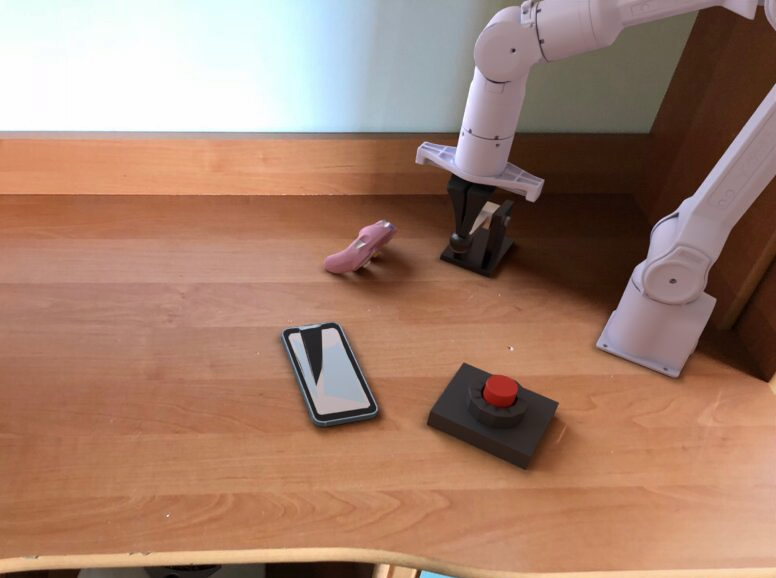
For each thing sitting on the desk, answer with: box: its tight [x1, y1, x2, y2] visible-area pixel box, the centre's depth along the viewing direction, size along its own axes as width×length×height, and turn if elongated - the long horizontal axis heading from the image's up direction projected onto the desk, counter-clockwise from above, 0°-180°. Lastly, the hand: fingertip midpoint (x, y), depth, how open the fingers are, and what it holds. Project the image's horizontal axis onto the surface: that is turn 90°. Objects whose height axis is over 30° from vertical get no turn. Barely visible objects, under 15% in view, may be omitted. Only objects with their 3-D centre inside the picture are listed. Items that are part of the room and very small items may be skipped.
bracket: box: [439, 199, 515, 279], centre depth 104 cm, size 9×7×8 cm
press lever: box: [448, 200, 501, 253], centre depth 100 cm, size 12×3×3 cm, turn 148°
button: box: [483, 374, 518, 408], centre depth 82 cm, size 3×3×2 cm
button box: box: [426, 361, 560, 471], centre depth 84 cm, size 11×9×4 cm
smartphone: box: [280, 321, 379, 428], centre depth 89 cm, size 7×1×15 cm
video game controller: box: [323, 219, 398, 274], centre depth 103 cm, size 10×5×7 cm, turn 143°
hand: (463, 231), depth 96 cm, fingers closed, pressing on press lever
